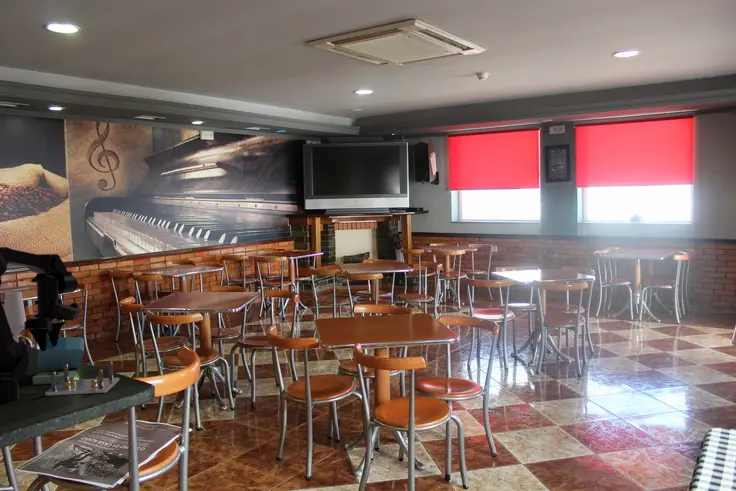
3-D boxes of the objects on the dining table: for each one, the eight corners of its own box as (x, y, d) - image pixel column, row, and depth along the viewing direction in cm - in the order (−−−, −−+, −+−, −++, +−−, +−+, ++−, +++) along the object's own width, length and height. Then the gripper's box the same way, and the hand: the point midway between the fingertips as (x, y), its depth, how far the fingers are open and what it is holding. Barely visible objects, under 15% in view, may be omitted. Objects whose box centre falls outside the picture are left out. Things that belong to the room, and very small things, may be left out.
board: (68, 383, 181) (68, 374, 181) (33, 385, 180) (32, 376, 180) (75, 378, 186) (75, 369, 186) (41, 380, 185) (40, 371, 185)
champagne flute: (33, 360, 211) (29, 291, 210) (16, 365, 205) (12, 293, 203) (18, 359, 213) (14, 291, 212) (1, 364, 207) (-3, 293, 205)
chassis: (105, 392, 169) (104, 371, 169) (45, 395, 167) (44, 374, 167) (119, 380, 181) (118, 360, 181) (63, 383, 179) (61, 363, 179)
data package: (79, 356, 200) (84, 337, 192) (79, 368, 197) (84, 349, 189) (38, 356, 194) (41, 336, 186) (37, 369, 191) (40, 349, 183)
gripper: (64, 298, 173) (65, 353, 173) (87, 292, 192) (88, 342, 192) (22, 299, 172) (24, 355, 172) (49, 293, 190) (50, 343, 191)
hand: (49, 348), depth 182 cm, fingers open, 8 cm apart
